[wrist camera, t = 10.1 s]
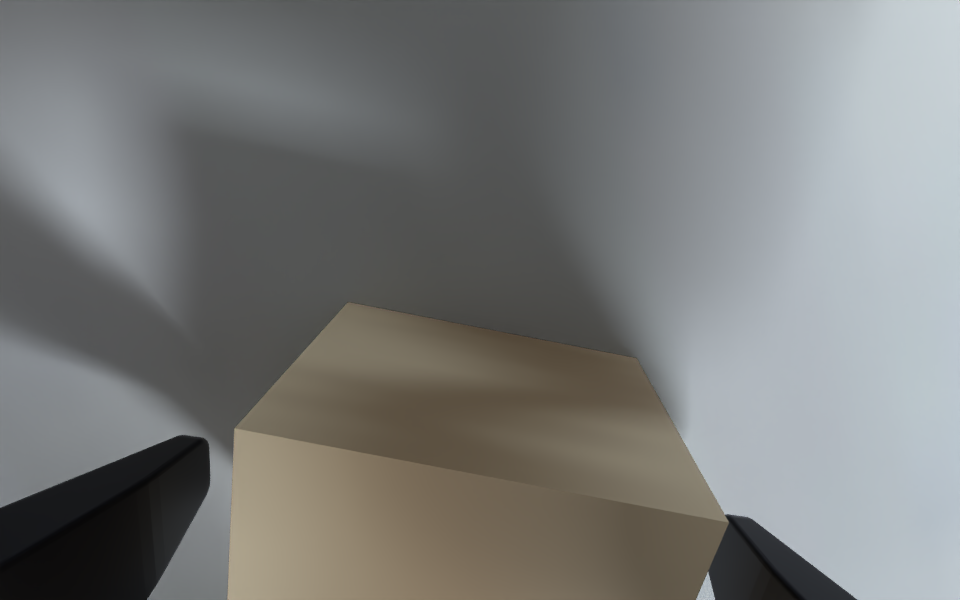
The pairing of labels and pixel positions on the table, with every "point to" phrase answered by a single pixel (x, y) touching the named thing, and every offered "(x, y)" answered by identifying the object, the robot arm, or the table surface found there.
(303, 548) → the birch cube
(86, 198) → the table surface
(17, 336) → the table surface
